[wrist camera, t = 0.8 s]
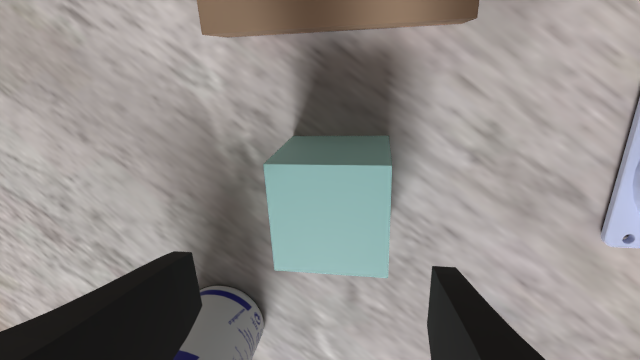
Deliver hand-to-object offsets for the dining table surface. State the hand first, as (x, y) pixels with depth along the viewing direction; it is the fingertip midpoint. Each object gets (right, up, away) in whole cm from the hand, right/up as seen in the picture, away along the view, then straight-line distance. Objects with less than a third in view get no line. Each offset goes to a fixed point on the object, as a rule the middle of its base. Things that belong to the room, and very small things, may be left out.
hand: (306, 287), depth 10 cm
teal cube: (+2, +3, +8) cm, 9 cm away
